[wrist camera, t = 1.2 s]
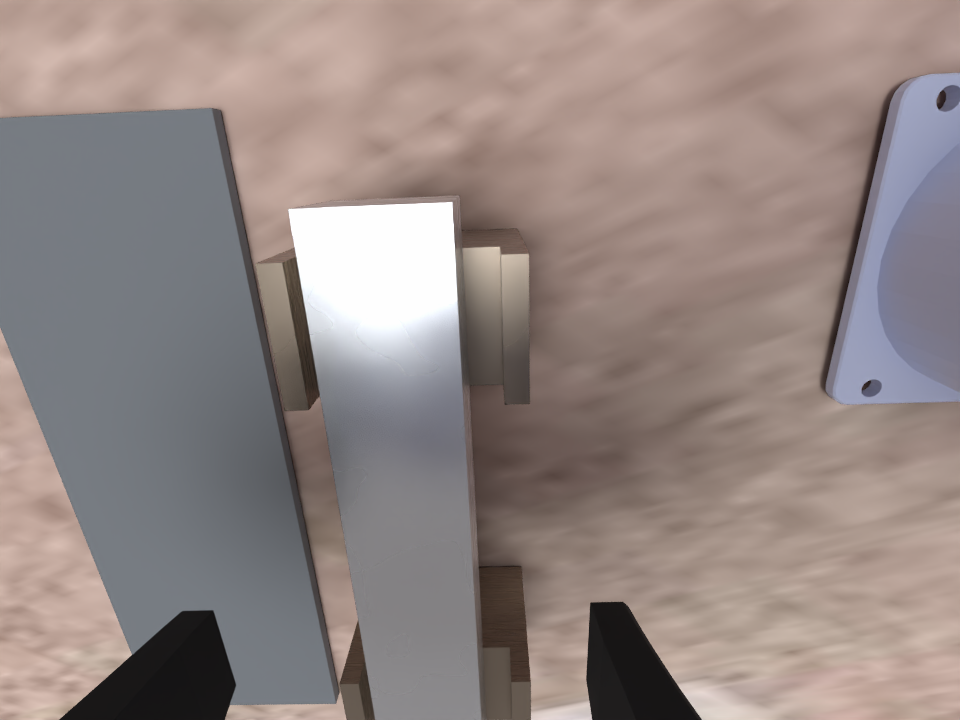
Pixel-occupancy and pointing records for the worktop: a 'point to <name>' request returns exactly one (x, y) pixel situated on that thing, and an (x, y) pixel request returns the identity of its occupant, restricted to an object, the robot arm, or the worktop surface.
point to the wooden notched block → (489, 318)
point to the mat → (160, 383)
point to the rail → (400, 440)
